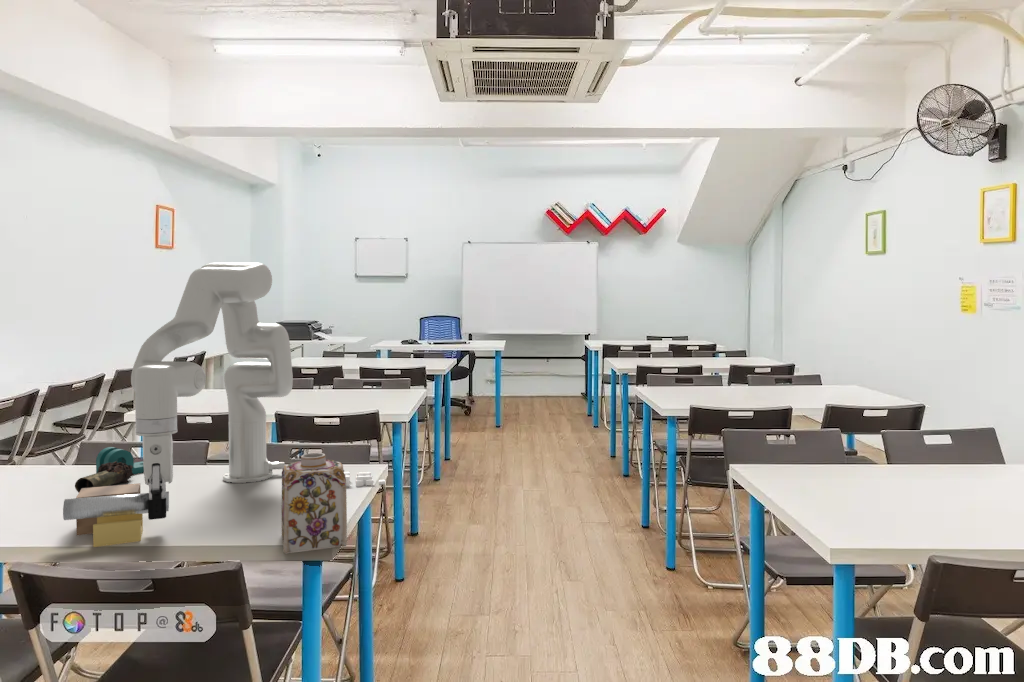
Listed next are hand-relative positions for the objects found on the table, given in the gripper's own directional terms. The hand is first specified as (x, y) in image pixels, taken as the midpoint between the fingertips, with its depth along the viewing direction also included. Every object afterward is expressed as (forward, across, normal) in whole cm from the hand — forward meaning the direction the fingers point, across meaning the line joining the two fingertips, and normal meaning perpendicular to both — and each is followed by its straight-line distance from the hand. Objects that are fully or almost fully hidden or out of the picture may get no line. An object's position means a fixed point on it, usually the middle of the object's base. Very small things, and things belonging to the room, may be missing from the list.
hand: (157, 514), depth 140 cm
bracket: (+5, +64, +8) cm, 65 cm away
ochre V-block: (+4, 0, +7) cm, 8 cm away
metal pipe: (+7, +41, +16) cm, 45 cm away
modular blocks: (+5, +22, -47) cm, 52 cm away
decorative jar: (+5, -18, -28) cm, 34 cm away
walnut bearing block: (+4, +10, +10) cm, 15 cm away
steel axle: (-3, 0, +7) cm, 7 cm away
